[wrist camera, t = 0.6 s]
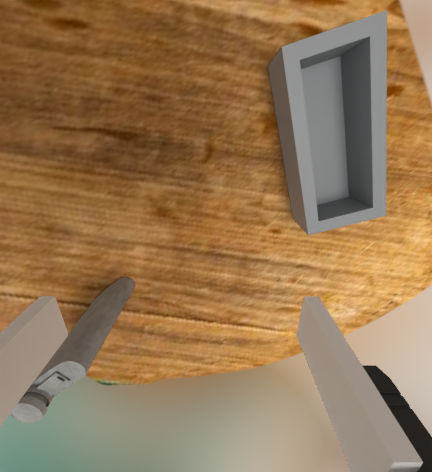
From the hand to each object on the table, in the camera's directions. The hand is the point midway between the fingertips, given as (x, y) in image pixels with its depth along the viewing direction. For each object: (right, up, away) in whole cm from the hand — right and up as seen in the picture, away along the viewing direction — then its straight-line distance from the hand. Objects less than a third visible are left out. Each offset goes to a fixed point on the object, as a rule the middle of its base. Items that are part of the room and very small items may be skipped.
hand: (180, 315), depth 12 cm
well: (+16, +18, +21) cm, 32 cm away
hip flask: (-20, -9, +33) cm, 39 cm away
